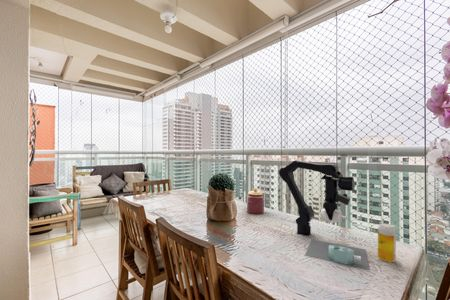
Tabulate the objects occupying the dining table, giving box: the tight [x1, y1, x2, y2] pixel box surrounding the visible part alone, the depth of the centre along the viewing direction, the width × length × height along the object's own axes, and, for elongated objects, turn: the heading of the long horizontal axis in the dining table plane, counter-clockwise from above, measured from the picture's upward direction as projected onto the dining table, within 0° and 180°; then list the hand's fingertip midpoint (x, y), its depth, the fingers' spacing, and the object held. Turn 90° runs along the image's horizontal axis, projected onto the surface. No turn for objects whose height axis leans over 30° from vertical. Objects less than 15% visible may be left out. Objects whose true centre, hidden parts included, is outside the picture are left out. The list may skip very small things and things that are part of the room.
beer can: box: [377, 222, 397, 263], centre depth 94 cm, size 6×6×15 cm
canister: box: [246, 188, 265, 215], centre depth 165 cm, size 13×13×18 cm
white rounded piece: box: [320, 208, 348, 224], centre depth 112 cm, size 12×4×5 cm, turn 61°
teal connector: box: [329, 245, 361, 266], centre depth 92 cm, size 12×4×5 cm, turn 61°
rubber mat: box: [304, 239, 371, 271], centre depth 99 cm, size 24×20×1 cm
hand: (331, 218), depth 113 cm, fingers closed on white rounded piece, 4 cm apart
